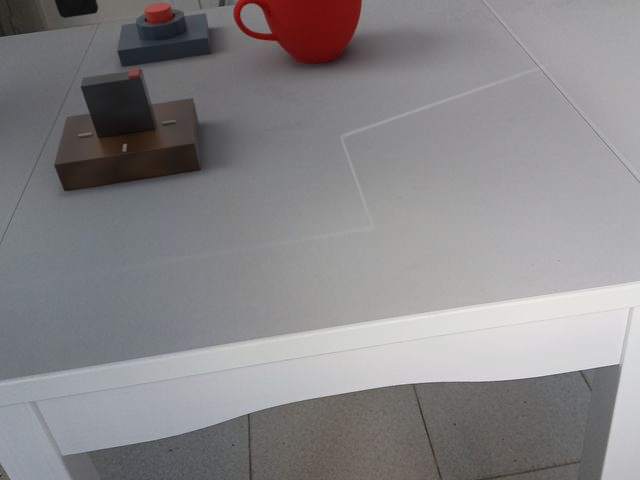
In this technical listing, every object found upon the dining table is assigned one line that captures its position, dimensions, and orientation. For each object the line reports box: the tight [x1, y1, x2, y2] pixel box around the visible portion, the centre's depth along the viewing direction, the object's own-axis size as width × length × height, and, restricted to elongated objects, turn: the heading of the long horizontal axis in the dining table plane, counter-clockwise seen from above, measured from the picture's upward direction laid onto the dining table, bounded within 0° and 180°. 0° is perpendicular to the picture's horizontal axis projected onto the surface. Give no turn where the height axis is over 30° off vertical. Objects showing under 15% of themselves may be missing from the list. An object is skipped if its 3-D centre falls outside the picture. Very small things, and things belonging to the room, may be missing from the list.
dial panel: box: [53, 97, 202, 192], centre depth 77 cm, size 14×11×3 cm
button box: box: [116, 8, 212, 68], centre depth 100 cm, size 12×10×4 cm
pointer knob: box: [80, 67, 156, 138], centre depth 74 cm, size 6×2×6 cm, turn 99°
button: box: [143, 2, 174, 23], centre depth 98 cm, size 4×4×2 cm
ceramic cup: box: [232, 0, 363, 64], centre depth 91 cm, size 13×17×10 cm
